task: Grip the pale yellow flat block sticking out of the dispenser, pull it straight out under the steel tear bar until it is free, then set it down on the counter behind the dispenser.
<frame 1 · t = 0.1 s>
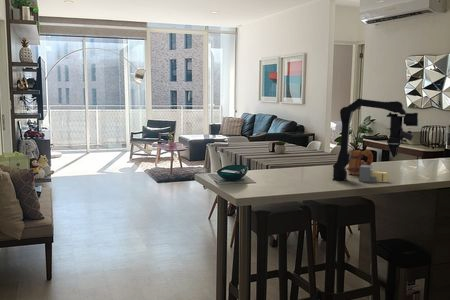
hand: (394, 156, 228), 14 cm above the table, fingers open, 9 cm apart
mug: (359, 175, 258), on the table
pale yellow flat block: (375, 181, 238), on the table
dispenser: (369, 180, 239), on the table
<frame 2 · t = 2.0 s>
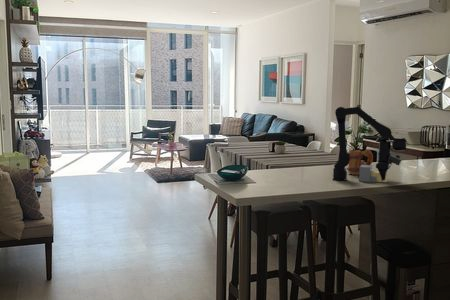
hand: (383, 179, 236), 1 cm above the table, fingers closed on pale yellow flat block, 3 cm apart
pale yellow flat block: (375, 181, 238), on the table, touching gripper
everything else where it was.
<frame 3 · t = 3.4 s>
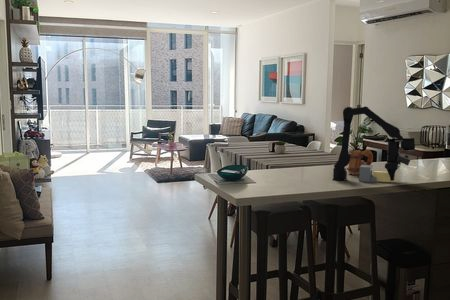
hand: (392, 179, 234), 1 cm above the table, fingers closed on pale yellow flat block, 2 cm apart
pale yellow flat block: (384, 181, 236), on the table, touching gripper
everything else where it was.
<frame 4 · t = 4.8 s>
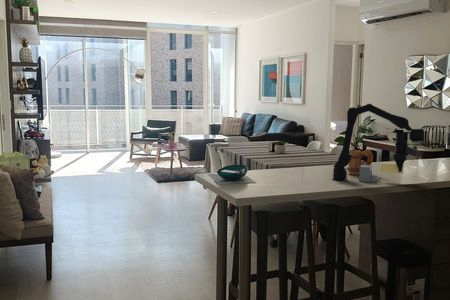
hand: (400, 171, 232), 6 cm above the table, fingers closed on pale yellow flat block, 2 cm apart
pale yellow flat block: (391, 172, 234), point 5 cm above the table, touching gripper
everything else where it was.
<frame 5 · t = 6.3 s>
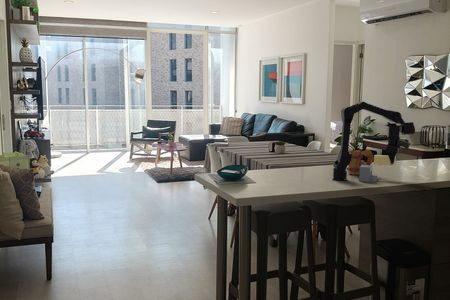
hand: (392, 163, 240), 9 cm above the table, fingers closed on pale yellow flat block, 2 cm apart
pale yellow flat block: (384, 164, 242), point 8 cm above the table, touching gripper
everything else where it was.
when the fingers open (2 cm above the table, at t = 7.6 s): pale yellow flat block drops 1 cm, on the table.
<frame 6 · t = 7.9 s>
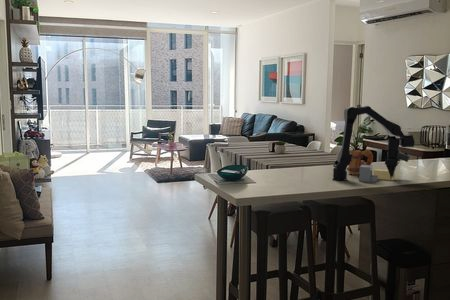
hand: (392, 175, 241), 2 cm above the table, fingers open, 5 cm apart
pale yellow flat block: (384, 179, 243), on the table
everything else where it was.
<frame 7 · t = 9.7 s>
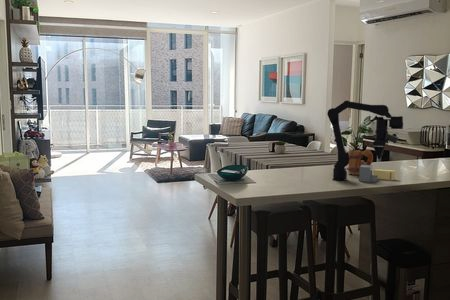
hand: (380, 158, 235), 13 cm above the table, fingers open, 9 cm apart
nothing on the table moved.
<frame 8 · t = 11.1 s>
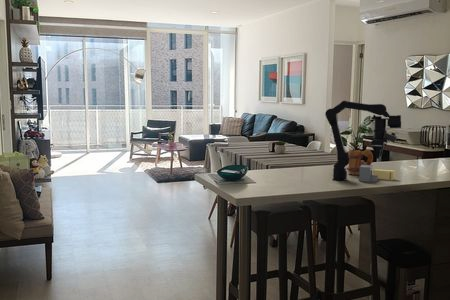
hand: (379, 157, 234), 13 cm above the table, fingers open, 9 cm apart
nothing on the table moved.
at the end: pale yellow flat block touching table; pale yellow flat block inside the target area (4.4 cm from its centre), on the table; the gripper is holding nothing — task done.
